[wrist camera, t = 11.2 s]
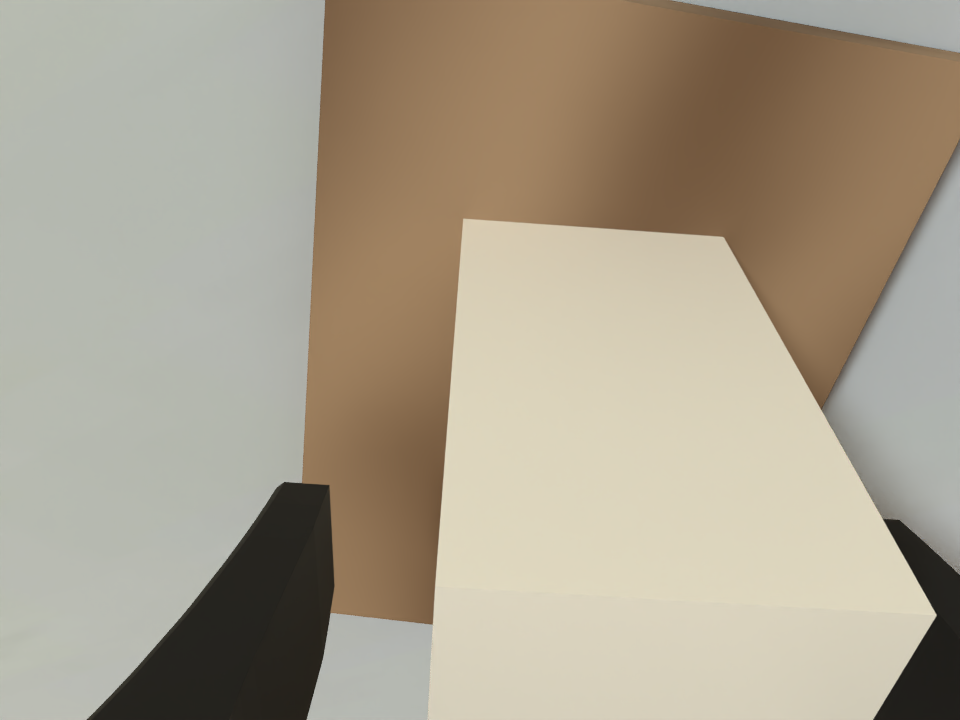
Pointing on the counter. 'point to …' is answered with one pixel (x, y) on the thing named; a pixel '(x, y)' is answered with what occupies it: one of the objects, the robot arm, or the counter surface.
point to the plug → (648, 499)
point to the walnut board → (579, 205)
